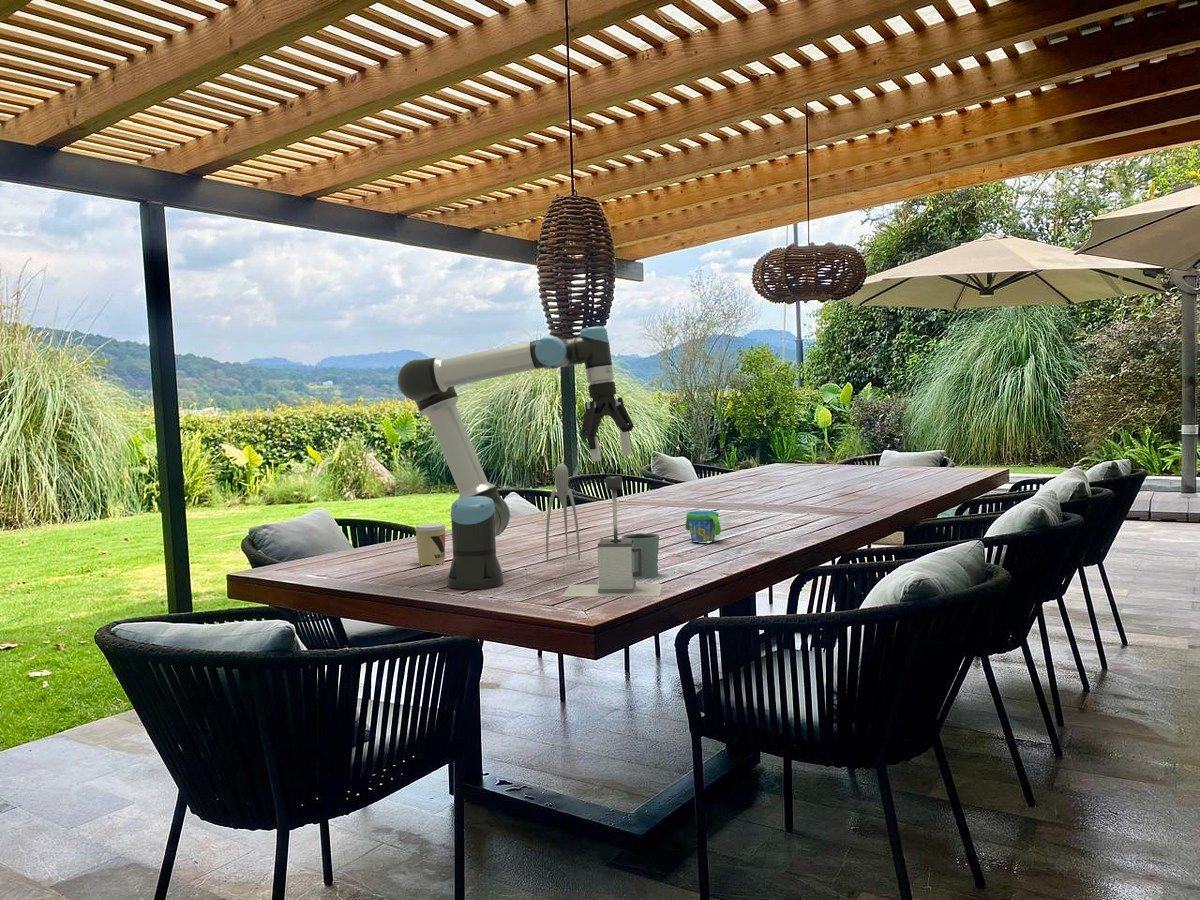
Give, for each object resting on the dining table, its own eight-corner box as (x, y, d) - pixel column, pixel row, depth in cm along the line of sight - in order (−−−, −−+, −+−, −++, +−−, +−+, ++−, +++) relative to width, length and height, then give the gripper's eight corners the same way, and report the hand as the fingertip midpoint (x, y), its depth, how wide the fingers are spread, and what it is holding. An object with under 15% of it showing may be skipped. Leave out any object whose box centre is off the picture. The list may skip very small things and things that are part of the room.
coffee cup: (437, 566, 279) (436, 527, 278) (410, 565, 282) (409, 527, 281) (452, 561, 288) (451, 523, 287) (426, 560, 291) (424, 522, 290)
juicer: (583, 555, 290) (580, 461, 289) (580, 560, 281) (576, 463, 280) (551, 556, 291) (547, 462, 290) (546, 561, 282) (543, 464, 281)
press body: (598, 593, 227) (596, 544, 227) (601, 586, 236) (600, 538, 236) (641, 592, 226) (640, 543, 226) (643, 585, 235) (642, 538, 234)
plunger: (603, 551, 228) (600, 478, 227) (605, 547, 234) (603, 476, 233) (627, 551, 228) (624, 477, 227) (628, 547, 233) (626, 475, 232)
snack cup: (729, 544, 304) (729, 513, 304) (703, 547, 299) (702, 516, 299) (702, 538, 318) (702, 509, 317) (677, 541, 313) (676, 511, 312)
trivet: (562, 601, 225) (562, 596, 225) (570, 589, 239) (569, 584, 239) (659, 600, 223) (659, 595, 223) (662, 588, 237) (661, 583, 237)
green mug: (629, 584, 244) (628, 539, 243) (618, 577, 253) (617, 534, 253) (665, 580, 246) (664, 536, 246) (653, 574, 256) (651, 531, 255)
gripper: (581, 383, 243) (593, 462, 244) (638, 377, 262) (649, 451, 263) (561, 387, 248) (572, 464, 249) (618, 381, 267) (629, 453, 268)
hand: (612, 458), depth 256 cm, fingers open, 13 cm apart
